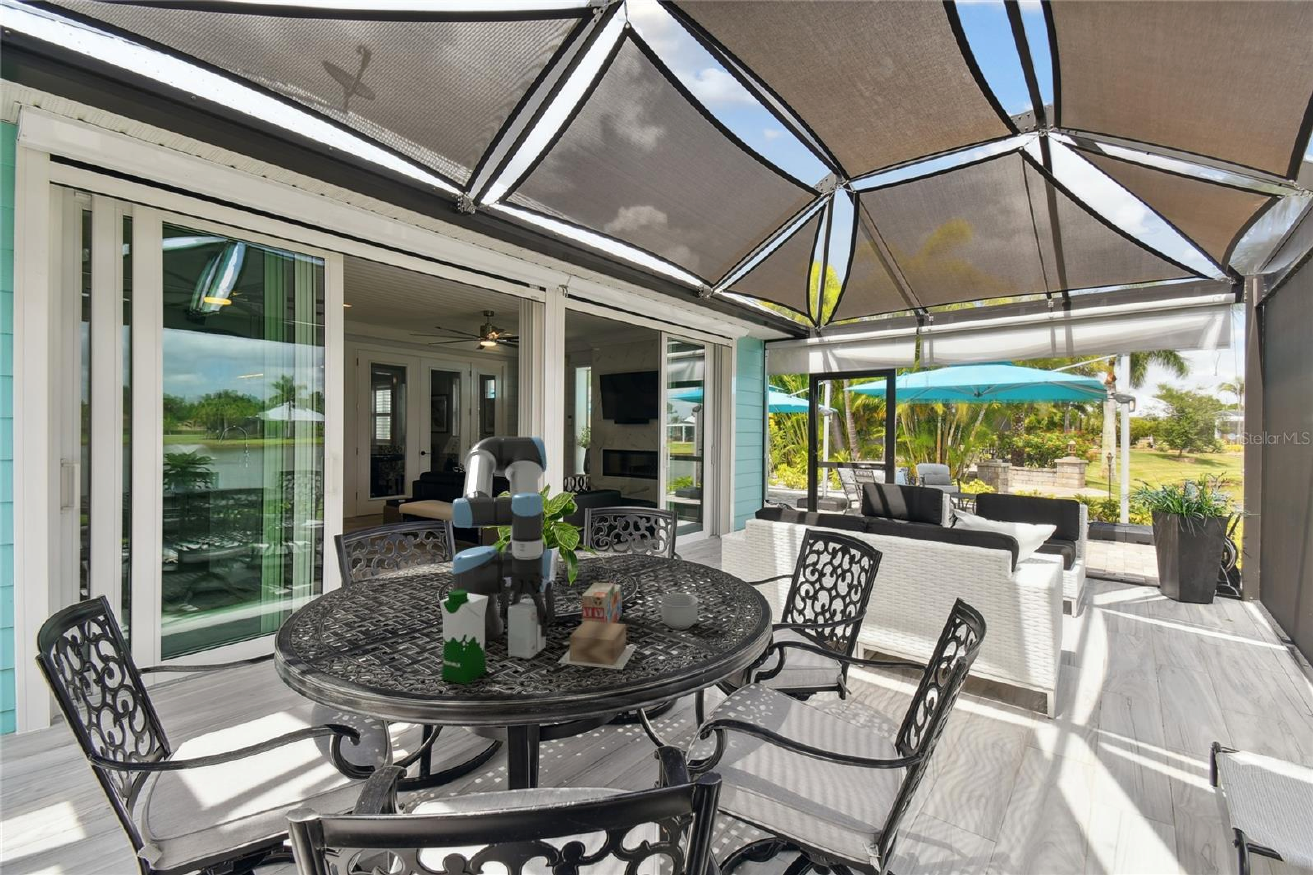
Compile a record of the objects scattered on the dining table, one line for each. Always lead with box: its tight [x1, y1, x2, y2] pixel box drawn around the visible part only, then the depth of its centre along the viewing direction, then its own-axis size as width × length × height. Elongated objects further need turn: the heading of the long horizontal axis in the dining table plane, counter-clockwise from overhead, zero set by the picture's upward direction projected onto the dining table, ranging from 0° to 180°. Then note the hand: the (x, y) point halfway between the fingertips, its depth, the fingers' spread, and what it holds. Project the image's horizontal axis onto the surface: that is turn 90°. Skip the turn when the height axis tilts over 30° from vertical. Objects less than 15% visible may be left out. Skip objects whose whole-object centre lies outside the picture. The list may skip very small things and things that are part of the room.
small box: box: [507, 598, 547, 659], centre depth 146 cm, size 8×6×13 cm
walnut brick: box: [569, 621, 627, 665], centre depth 144 cm, size 11×11×6 cm
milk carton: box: [439, 589, 489, 685], centre depth 134 cm, size 9×9×20 cm
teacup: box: [652, 592, 699, 631], centre depth 168 cm, size 14×11×8 cm
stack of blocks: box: [581, 582, 623, 624], centre depth 167 cm, size 21×6×12 cm, turn 170°
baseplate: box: [557, 643, 638, 670], centre depth 144 cm, size 16×14×2 cm
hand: (527, 647), depth 146 cm, fingers closed on small box, 7 cm apart
